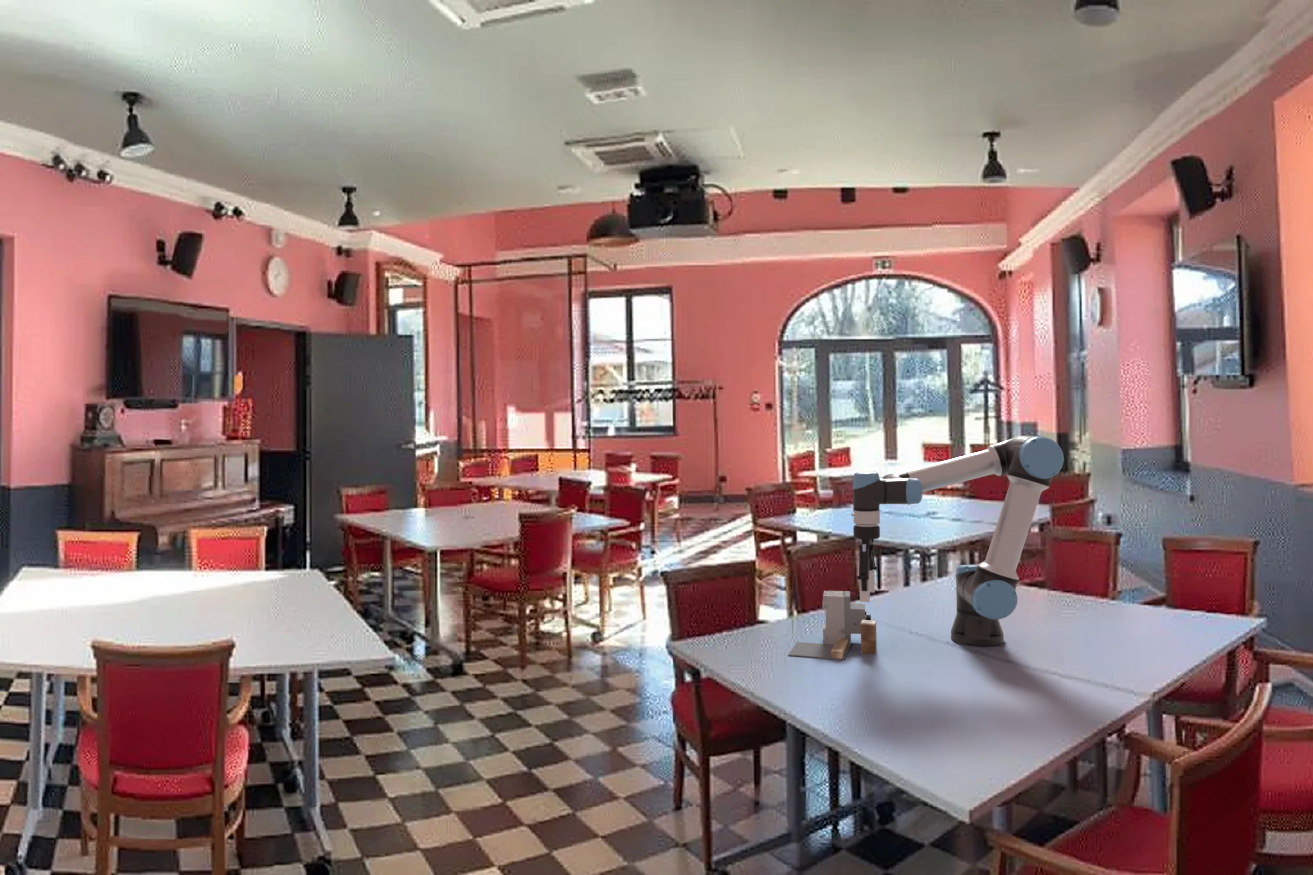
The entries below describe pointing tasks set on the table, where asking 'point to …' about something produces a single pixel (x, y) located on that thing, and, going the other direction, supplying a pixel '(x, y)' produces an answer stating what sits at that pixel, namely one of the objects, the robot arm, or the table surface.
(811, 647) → the mat
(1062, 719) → the table surface
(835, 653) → the ledge
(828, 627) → the circuit breaker
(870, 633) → the block
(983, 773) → the table surface
